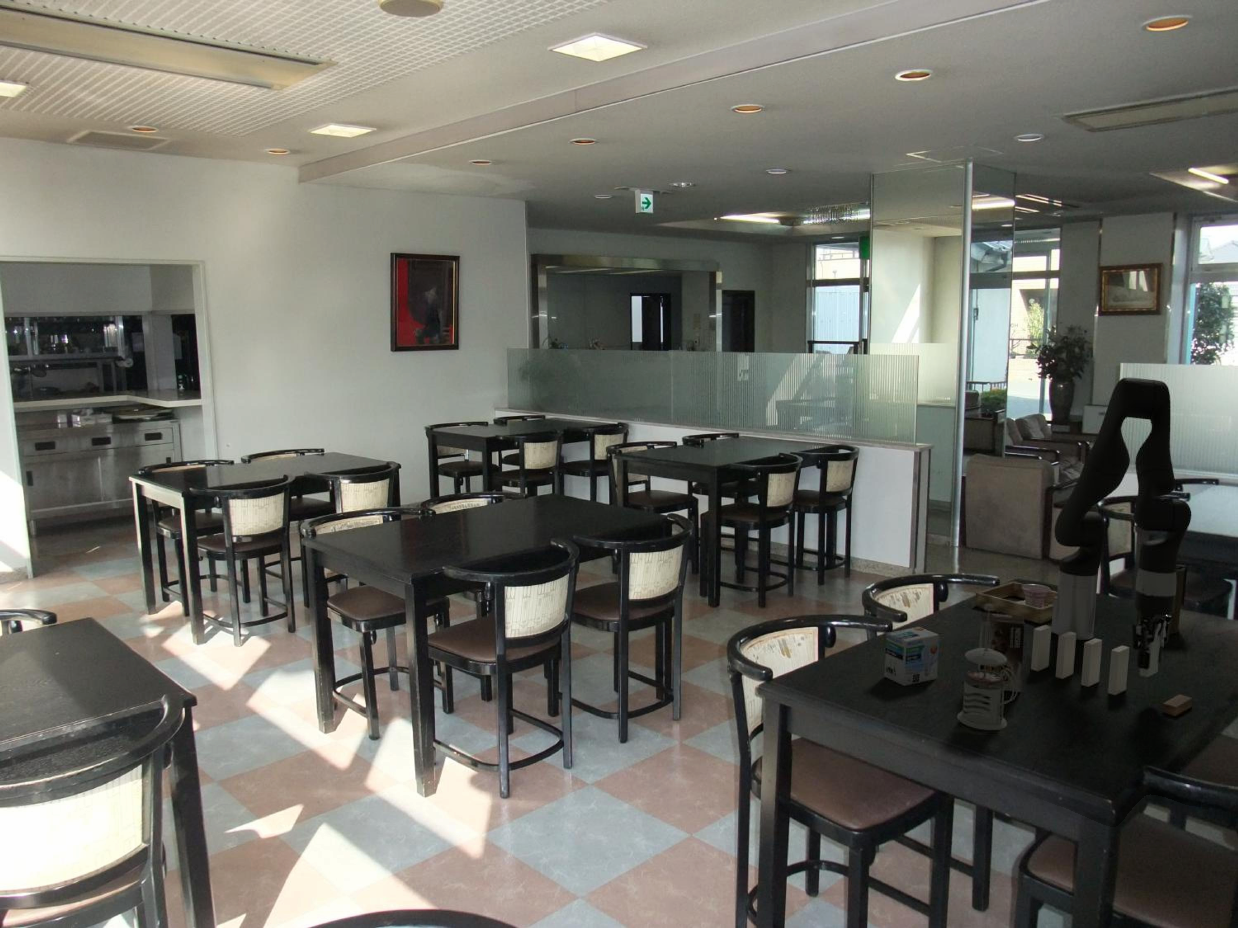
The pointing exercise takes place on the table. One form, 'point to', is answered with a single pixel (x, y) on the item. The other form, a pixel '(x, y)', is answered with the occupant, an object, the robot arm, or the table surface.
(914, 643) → the light bulb box
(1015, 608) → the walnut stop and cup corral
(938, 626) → the table surface
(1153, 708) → the table surface
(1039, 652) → the domino
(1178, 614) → the canister
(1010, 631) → the coffee box
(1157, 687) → the table surface
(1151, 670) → the sage domino
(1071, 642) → the domino
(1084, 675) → the domino
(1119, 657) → the domino
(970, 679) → the french press
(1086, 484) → the robot arm
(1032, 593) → the teacup
